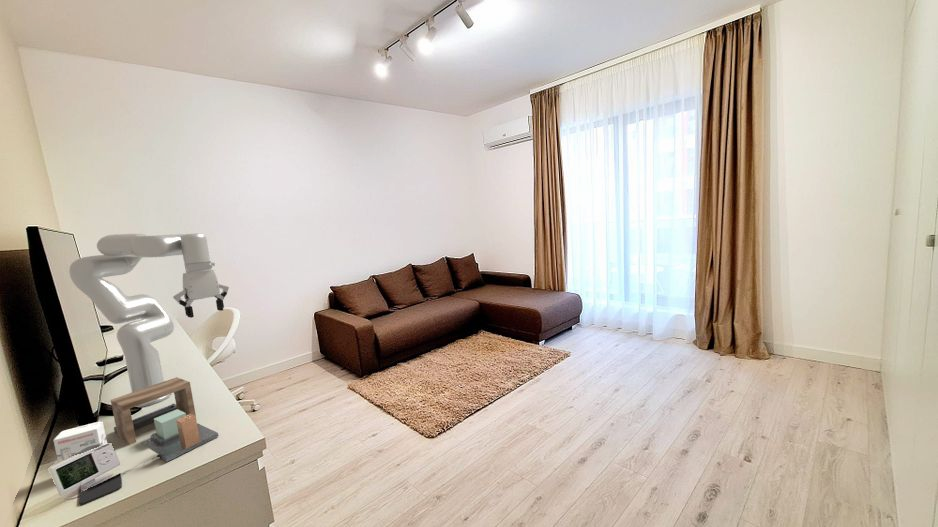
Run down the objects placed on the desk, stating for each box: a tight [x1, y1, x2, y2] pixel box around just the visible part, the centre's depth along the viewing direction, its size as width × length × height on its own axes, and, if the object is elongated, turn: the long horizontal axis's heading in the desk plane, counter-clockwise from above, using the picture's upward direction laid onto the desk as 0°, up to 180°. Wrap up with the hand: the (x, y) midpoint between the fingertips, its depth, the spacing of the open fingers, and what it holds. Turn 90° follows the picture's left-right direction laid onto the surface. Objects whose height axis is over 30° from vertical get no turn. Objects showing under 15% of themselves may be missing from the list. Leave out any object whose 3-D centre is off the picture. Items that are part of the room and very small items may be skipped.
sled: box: [140, 414, 219, 463], centre depth 108 cm, size 18×13×9 cm
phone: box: [78, 472, 123, 506], centre depth 92 cm, size 7×1×15 cm
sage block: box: [153, 409, 186, 439], centre depth 111 cm, size 6×6×6 cm
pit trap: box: [113, 403, 177, 435], centre depth 121 cm, size 4×16×3 cm, turn 149°
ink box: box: [53, 421, 108, 463], centre depth 98 cm, size 9×5×12 cm, turn 122°
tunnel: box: [110, 377, 197, 446], centre depth 116 cm, size 10×17×14 cm, turn 149°
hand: (206, 313), depth 132 cm, fingers open, 9 cm apart
